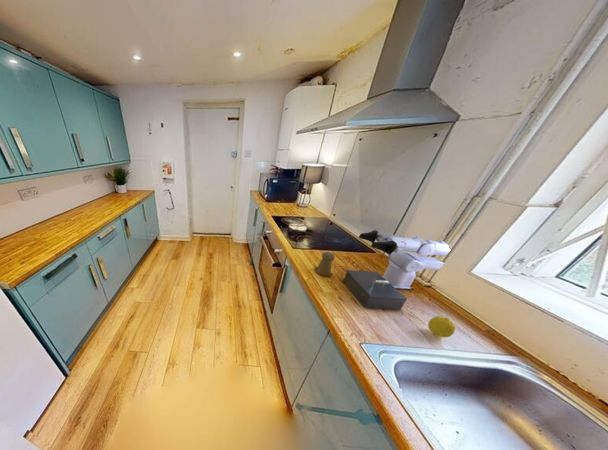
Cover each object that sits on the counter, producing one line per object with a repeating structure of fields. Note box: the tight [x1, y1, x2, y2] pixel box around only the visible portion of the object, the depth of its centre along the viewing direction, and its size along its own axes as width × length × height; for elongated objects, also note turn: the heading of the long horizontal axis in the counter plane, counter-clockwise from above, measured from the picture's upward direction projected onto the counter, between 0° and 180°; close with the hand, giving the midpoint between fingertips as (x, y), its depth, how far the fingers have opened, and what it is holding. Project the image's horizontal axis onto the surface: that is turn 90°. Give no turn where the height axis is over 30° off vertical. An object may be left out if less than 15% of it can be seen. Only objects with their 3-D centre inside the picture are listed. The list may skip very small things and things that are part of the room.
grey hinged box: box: [342, 272, 407, 311], centre depth 83 cm, size 15×13×5 cm
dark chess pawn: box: [315, 251, 336, 277], centre depth 95 cm, size 6×6×11 cm
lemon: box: [427, 315, 456, 338], centre depth 66 cm, size 6×6×8 cm
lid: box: [345, 269, 408, 301], centre depth 82 cm, size 16×13×4 cm
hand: (366, 240), depth 84 cm, fingers open, 7 cm apart
